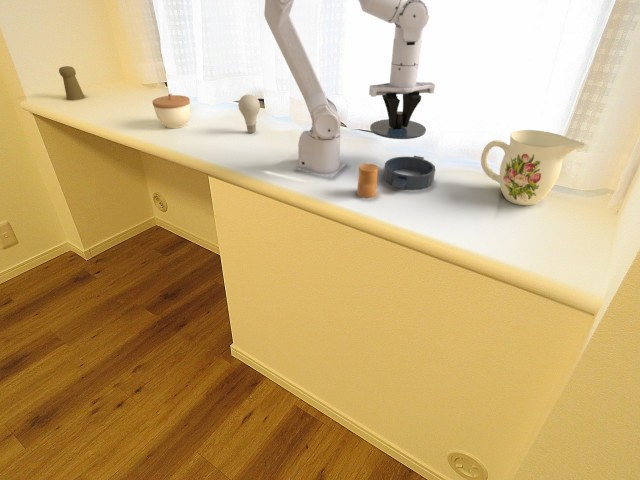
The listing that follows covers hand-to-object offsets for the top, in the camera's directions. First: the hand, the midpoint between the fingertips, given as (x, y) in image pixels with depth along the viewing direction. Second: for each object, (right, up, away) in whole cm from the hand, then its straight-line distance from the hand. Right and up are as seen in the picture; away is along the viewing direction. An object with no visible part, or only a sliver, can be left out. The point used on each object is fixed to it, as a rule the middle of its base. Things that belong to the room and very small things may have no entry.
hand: (398, 126), depth 94 cm
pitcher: (+24, -17, -6) cm, 30 cm away
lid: (0, -1, +1) cm, 1 cm away
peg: (-8, -17, -6) cm, 20 cm away
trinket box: (-63, +9, +32) cm, 71 cm away
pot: (+2, -13, 0) cm, 13 cm away
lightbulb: (-38, +5, +27) cm, 47 cm away
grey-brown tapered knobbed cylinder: (-110, +27, +58) cm, 127 cm away
